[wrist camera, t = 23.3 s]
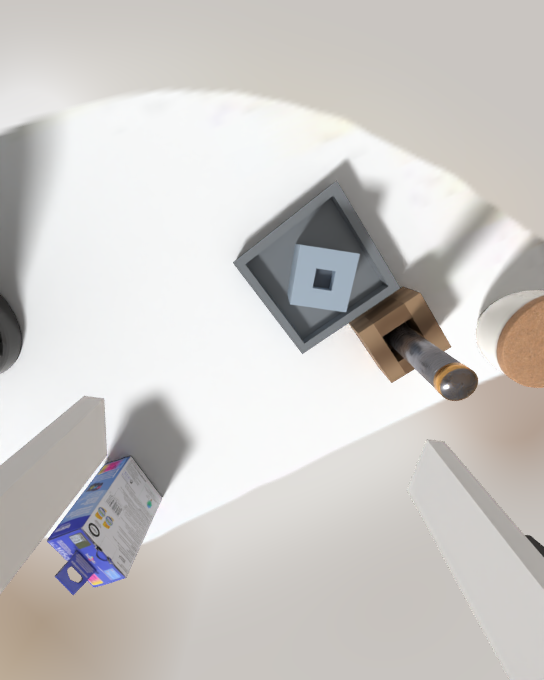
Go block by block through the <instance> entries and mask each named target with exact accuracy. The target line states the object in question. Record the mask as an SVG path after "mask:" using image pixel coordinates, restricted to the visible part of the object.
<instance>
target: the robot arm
mask: <svg viewBox="0 0 544 680" xmlns="http://www.w3.org/2000/svg"><path fill="white" fill-rule="evenodd" d="M20 348H21V333H20V328H19V325H18V322H17V319H16V317H15V315H14V313H13V311H12V310H11V308H10V306H9V305H8V304H7V302H6V301H5V300H4V299H3V297H2V296H1V295H0V374H1V373H3V372H5V371H6V370H8V369H9V368H10V367H11V366H12V365H13V364H14V362H15V361H16V359H17V358H18V355H19V352H20ZM106 456H107V448H106V427H105V406H104V399H103V398H96V397H88V396H84V397H82V398H81V399H80V400H79V401H78V402H76V403H75V404H74V405H73V406H72V407H70V408H69V409H68V410H67V411H66V412H64V413H63V414H62V415H61V416H60V417H58V418H57V419H56V420H55V421H54V422H52V423H51V424H50V425H49V426H48V427H46V428H45V429H44V430H43V431H41V432H40V433H39V434H38V435H37V436H35V437H34V438H33V439H32V440H31V441H29V442H28V443H27V444H26V445H25V446H23V447H22V448H21V449H20V450H19V451H17V452H16V453H15V454H14V455H13V456H11V457H10V458H9V459H8V460H7V461H5V462H4V463H3V464H2V465H1V466H0V594H1V593H2V591H3V590H4V589H5V587H6V586H7V585H8V583H9V582H10V581H11V579H12V578H13V577H14V575H15V574H16V573H17V572H18V570H19V569H20V568H21V566H22V565H23V564H24V563H25V561H26V560H27V559H28V557H29V556H30V555H31V553H32V552H33V551H34V550H35V548H36V547H37V546H38V544H39V543H40V542H41V540H42V539H43V538H44V537H45V535H46V534H47V533H48V531H49V530H50V529H51V527H52V526H53V525H54V523H55V522H56V521H57V520H58V518H59V517H60V516H61V514H62V513H63V512H64V510H65V509H66V508H67V507H68V505H69V504H70V503H71V501H72V500H73V499H74V497H75V496H76V495H77V494H78V492H79V491H80V490H81V488H82V487H83V486H84V484H85V483H86V482H87V480H88V479H89V478H90V477H91V475H92V474H93V473H94V471H95V470H96V469H97V467H98V466H99V465H100V464H101V462H102V461H103V460H104V458H105V457H106ZM407 492H408V494H409V495H410V497H411V499H412V501H413V503H414V505H415V506H416V508H417V510H418V512H419V514H420V516H421V518H422V519H423V521H424V523H425V525H426V527H427V529H428V530H429V532H430V534H431V536H432V538H433V540H434V542H435V544H436V545H437V547H438V549H439V551H440V553H441V555H442V556H443V558H444V560H445V562H446V564H447V566H448V568H449V569H450V571H451V573H452V575H453V577H454V579H455V580H456V582H457V584H458V586H459V588H460V590H461V592H462V594H463V595H464V597H465V599H466V601H467V603H468V604H469V607H470V608H471V610H472V612H473V614H474V616H475V618H476V619H477V621H478V623H479V625H480V627H481V629H482V631H483V632H484V634H485V636H486V638H487V640H488V642H489V644H490V645H491V647H492V649H493V651H494V653H495V654H496V656H497V658H498V660H499V662H500V664H501V666H502V668H503V669H504V671H505V673H506V675H507V677H508V679H509V680H544V547H543V546H542V545H541V544H540V543H538V542H537V541H536V540H535V539H534V538H532V537H531V536H529V535H524V534H523V533H522V532H521V530H520V529H519V528H518V527H517V526H516V525H515V523H514V522H513V521H512V520H511V519H510V518H509V516H508V515H507V514H506V513H505V512H504V511H503V509H502V508H501V507H500V506H499V505H498V504H497V503H496V501H495V500H494V499H493V498H492V497H491V495H490V494H489V493H488V492H487V491H486V490H485V488H484V487H483V486H482V485H481V484H480V483H479V481H478V480H477V479H476V478H475V477H474V476H473V474H472V473H471V472H470V471H469V470H468V469H467V467H466V466H465V465H464V464H463V463H462V462H461V460H460V459H459V458H458V457H457V456H456V455H455V453H454V452H453V451H452V450H451V449H450V448H449V446H448V445H447V444H446V443H445V442H443V441H436V440H428V439H427V440H426V442H425V445H424V447H423V450H422V452H421V455H420V458H419V460H418V463H417V465H416V468H415V471H414V473H413V476H412V478H411V481H410V483H409V486H408V488H407Z"/></svg>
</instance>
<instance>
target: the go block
mask: <svg viewBox="0 0 544 680" xmlns="http://www.w3.org/2000/svg"><path fill="white" fill-rule="evenodd" d="M403 323H404V324H405V325H406V326H408V327H409V328H411V329H412V330H414V331H415V332H417V333H418V334H419V335H421V336H422V337H424V338H425V339H427V340H428V341H429V342H431V343H432V344H434V345H435V346H437V347H438V348H440V349H441V350H442V351H445V350H447V349H449V348H450V347H451V346H450V344H449V342H448V340H447V339H446V337H445V335H444V333H443V332H442V330H441V328H440V326H439V325H438V323H437V321H436V319H435V318H434V316H433V314H432V312H431V311H430V309H429V307H428V305H427V304H426V302H425V300H424V298H423V297H422V295H421V293H419V292H417V291H414V290H411V289H408V288H405V287H402V288H400V289H399V290H397V291H396V292H394V293H393V294H391V295H390V296H388V297H387V298H385V299H384V300H382V301H381V302H379V303H378V304H376V305H375V306H373V307H372V308H370V309H369V310H367V311H366V312H364V313H363V314H361V315H360V316H358V317H357V318H355V319H354V320H352V321H351V322H350V323H349V324H350V326H351V327H352V329H353V330H354V332H355V333H356V335H357V336H358V338H359V339H360V341H361V342H362V344H363V345H364V347H365V348H366V349H367V351H368V352H369V354H370V355H371V357H372V358H373V360H374V361H375V363H376V364H377V366H378V367H379V368H380V370H381V371H382V372H383V373H384V374H385V376H386V377H387V378H388V379H389V380H390V382H391V383H392V382H394V381H396V380H397V379H399V378H401V377H402V376H404V375H406V374H407V373H409V372H411V371H412V370H414V369H415V368H414V367H413V366H412V365H411V364H410V363H409V362H408V361H406V360H405V359H404V358H403V357H402V356H401V355H400V354H399V353H398V352H397V351H396V350H395V349H394V348H393V347H392V346H391V345H390V344H389V343H388V342H387V341H386V340H385V339H384V338H383V336H384V335H386V334H387V333H389V332H390V331H392V330H393V329H395V328H397V327H398V326H400V325H401V324H403Z"/></svg>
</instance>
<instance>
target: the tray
mask: <svg viewBox="0 0 544 680" xmlns="http://www.w3.org/2000/svg"><path fill="white" fill-rule="evenodd" d="M295 244H300V245H306V246H313V247H319V248H326V249H332V250H338V251H345V252H351V253H358V254H360V256H359V260H358V264H357V269H356V273H355V277H354V281H353V286H352V290H351V294H350V298H349V303H348V307H347V311H346V312H340V311H333V310H326V309H319V308H312V307H305V306H298V305H291V304H290V302H289V299H288V295H287V293H288V286H289V280H290V274H291V268H292V262H293V256H294V250H295ZM233 263H234V265H235V266H236V267H237V269H238V270H239V271H240V273H241V274H242V275H243V277H244V278H245V279H246V281H247V282H248V283H249V284H250V286H251V287H252V288H253V290H254V291H255V292H256V294H257V295H258V296H259V298H260V299H261V300H262V302H263V303H264V304H265V305H266V307H267V308H268V309H269V311H270V312H271V313H272V315H273V316H274V317H275V319H276V320H277V321H278V323H279V324H280V325H281V327H282V328H283V329H284V330H285V332H286V333H287V334H288V336H289V337H290V338H291V340H292V341H293V342H294V344H295V345H296V346H297V348H298V349H299V350H300V352H301V353H302V354H303V353H305V352H306V351H308V350H309V349H311V348H312V347H313V346H315V345H316V344H318V343H319V342H321V341H322V340H324V339H325V338H327V337H328V336H330V335H331V334H333V333H334V332H336V331H337V330H339V329H340V328H342V327H343V326H345V325H346V324H348V323H349V322H351V321H352V320H354V319H355V318H357V317H358V316H360V315H361V314H363V313H364V312H366V311H367V310H369V309H370V308H372V307H373V306H375V305H376V304H378V303H379V302H381V301H382V300H383V299H385V298H386V297H388V296H389V295H391V294H392V293H394V292H395V291H397V290H398V289H400V287H399V285H398V283H397V282H396V280H395V278H394V276H393V275H392V273H391V271H390V270H389V268H388V266H387V265H386V263H385V261H384V260H383V258H382V256H381V255H380V253H379V251H378V249H377V248H376V246H375V244H374V243H373V241H372V239H371V238H370V236H369V234H368V233H367V231H366V229H365V227H364V226H363V224H362V222H361V221H360V219H359V217H358V216H357V214H356V212H355V211H354V209H353V207H352V206H351V204H350V202H349V200H348V199H347V197H346V195H345V194H344V192H343V190H342V189H341V187H340V185H339V184H338V182H337V181H335V182H334V183H333V184H331V185H330V186H329V187H328V188H326V189H325V190H324V191H323V192H321V193H320V194H319V195H318V196H316V197H315V198H314V199H313V200H311V201H310V202H309V203H307V204H306V205H305V206H304V207H302V208H301V209H300V210H299V211H297V212H296V213H295V214H294V215H292V216H291V217H290V218H289V219H287V220H286V221H285V222H283V223H282V224H281V225H280V226H278V227H277V228H276V229H275V230H273V231H272V232H271V233H270V234H268V235H267V236H266V237H264V238H263V239H262V240H261V241H259V242H258V243H257V244H256V245H254V246H253V247H252V248H251V249H249V250H248V251H247V252H246V253H244V254H243V255H242V256H240V257H239V258H238V259H237V260H235V261H234V262H233Z"/></svg>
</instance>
